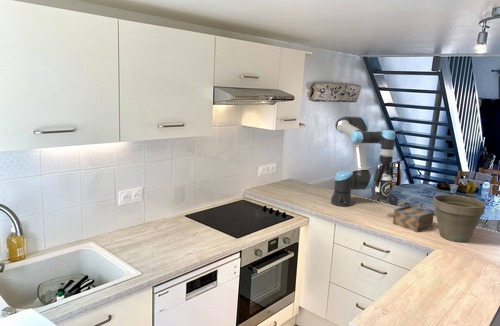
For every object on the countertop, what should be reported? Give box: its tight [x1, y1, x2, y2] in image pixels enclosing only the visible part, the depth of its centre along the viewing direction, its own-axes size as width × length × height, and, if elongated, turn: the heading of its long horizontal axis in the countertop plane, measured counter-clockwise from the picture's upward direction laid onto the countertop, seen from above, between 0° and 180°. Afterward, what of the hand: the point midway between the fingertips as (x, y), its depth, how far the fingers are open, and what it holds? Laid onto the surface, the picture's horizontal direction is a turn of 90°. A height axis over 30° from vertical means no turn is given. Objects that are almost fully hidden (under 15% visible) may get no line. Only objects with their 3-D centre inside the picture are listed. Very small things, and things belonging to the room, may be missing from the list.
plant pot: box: [432, 194, 487, 243], centre depth 200 cm, size 25×25×22 cm
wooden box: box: [392, 205, 435, 233], centre depth 218 cm, size 16×16×9 cm
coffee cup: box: [375, 173, 393, 201], centre depth 225 cm, size 10×10×15 cm
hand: (382, 190), depth 226 cm, fingers closed on coffee cup, 9 cm apart
